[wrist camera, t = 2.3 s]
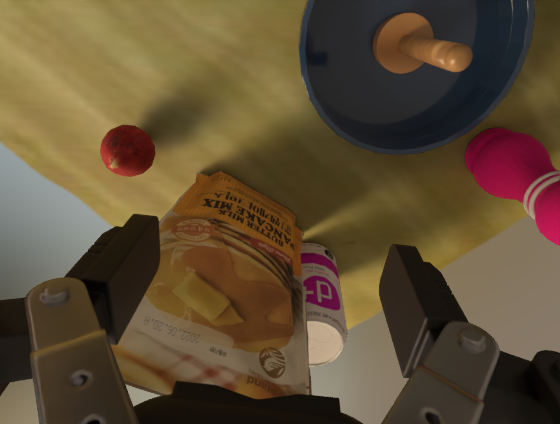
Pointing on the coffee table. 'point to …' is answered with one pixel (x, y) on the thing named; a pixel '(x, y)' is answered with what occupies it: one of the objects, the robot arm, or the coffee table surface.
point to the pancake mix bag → (222, 298)
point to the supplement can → (322, 304)
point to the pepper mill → (518, 175)
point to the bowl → (416, 84)
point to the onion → (127, 150)
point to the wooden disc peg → (416, 46)
